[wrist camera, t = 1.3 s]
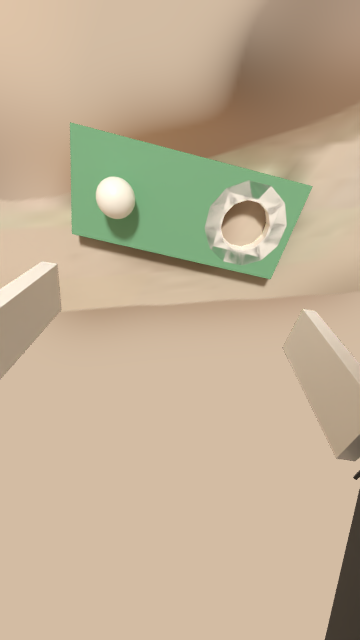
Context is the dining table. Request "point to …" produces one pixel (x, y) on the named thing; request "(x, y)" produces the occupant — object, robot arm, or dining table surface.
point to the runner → (179, 202)
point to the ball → (115, 197)
